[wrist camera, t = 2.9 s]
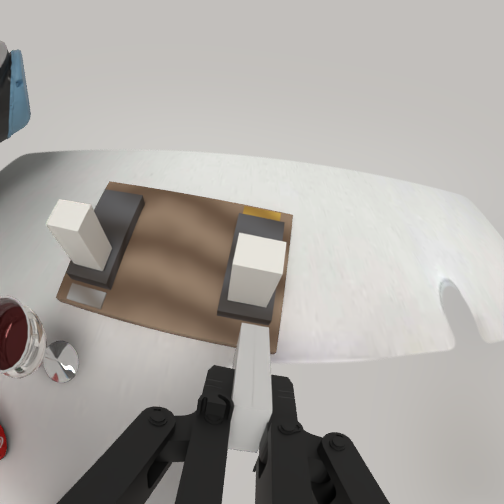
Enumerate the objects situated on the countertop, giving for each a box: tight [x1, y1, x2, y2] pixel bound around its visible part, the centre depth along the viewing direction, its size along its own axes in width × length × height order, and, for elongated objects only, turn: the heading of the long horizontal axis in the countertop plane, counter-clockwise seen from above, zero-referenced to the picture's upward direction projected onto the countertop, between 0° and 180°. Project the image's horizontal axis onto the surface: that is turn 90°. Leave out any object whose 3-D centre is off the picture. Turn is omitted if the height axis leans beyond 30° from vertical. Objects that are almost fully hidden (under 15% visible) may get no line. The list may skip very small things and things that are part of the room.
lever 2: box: [227, 233, 286, 307], centre depth 28 cm, size 3×4×8 cm
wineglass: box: [0, 295, 79, 383], centre depth 23 cm, size 7×7×12 cm
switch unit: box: [56, 182, 293, 354], centre depth 35 cm, size 18×26×3 cm
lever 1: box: [46, 199, 112, 271], centre depth 28 cm, size 3×4×8 cm
